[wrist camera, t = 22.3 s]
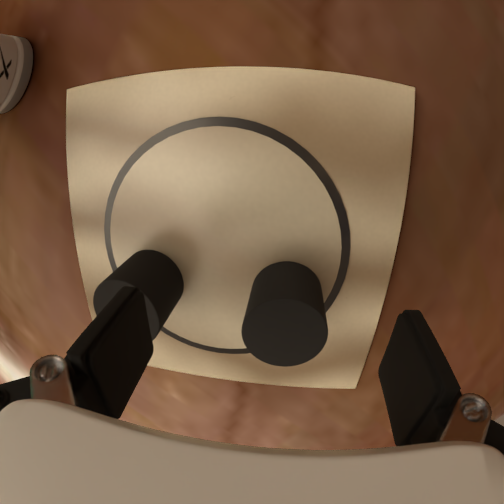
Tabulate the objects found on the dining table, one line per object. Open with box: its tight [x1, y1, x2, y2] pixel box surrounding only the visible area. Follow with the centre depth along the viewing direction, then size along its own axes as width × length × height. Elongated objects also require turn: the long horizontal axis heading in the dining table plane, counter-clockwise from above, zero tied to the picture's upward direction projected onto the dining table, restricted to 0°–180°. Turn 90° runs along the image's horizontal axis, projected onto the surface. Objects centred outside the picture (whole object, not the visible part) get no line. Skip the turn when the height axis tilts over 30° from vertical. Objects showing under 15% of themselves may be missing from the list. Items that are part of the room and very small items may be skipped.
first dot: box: [93, 250, 184, 341], centre depth 16 cm, size 4×4×4 cm
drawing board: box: [66, 66, 415, 389], centre depth 17 cm, size 20×20×1 cm
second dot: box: [241, 261, 328, 367], centre depth 15 cm, size 4×4×4 cm
